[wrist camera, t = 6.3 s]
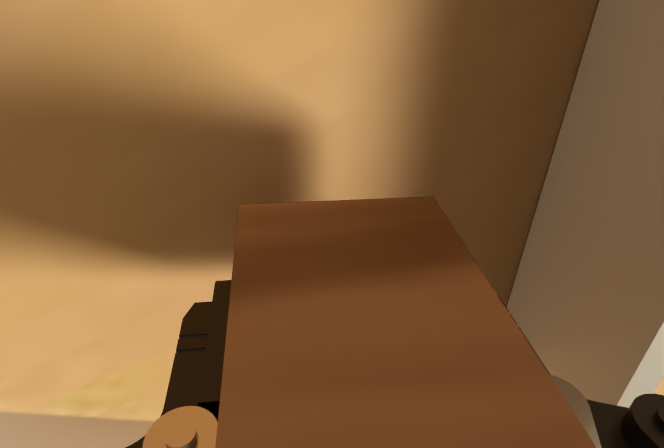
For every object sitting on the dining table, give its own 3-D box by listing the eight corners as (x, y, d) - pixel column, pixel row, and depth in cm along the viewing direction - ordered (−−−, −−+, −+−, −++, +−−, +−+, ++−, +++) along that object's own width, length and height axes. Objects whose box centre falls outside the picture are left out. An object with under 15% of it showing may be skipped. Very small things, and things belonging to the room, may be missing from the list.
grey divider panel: (673, -245, 10) (1087, -431, 5) (713, -241, 10) (1156, -420, 5) (489, 364, 21) (562, 500, 16) (509, 362, 21) (589, 496, 16)
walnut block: (238, 204, 11) (210, 499, 5) (433, 196, 12) (601, 453, 6) (253, 345, 14) (244, 645, 8) (410, 333, 14) (510, 603, 9)
